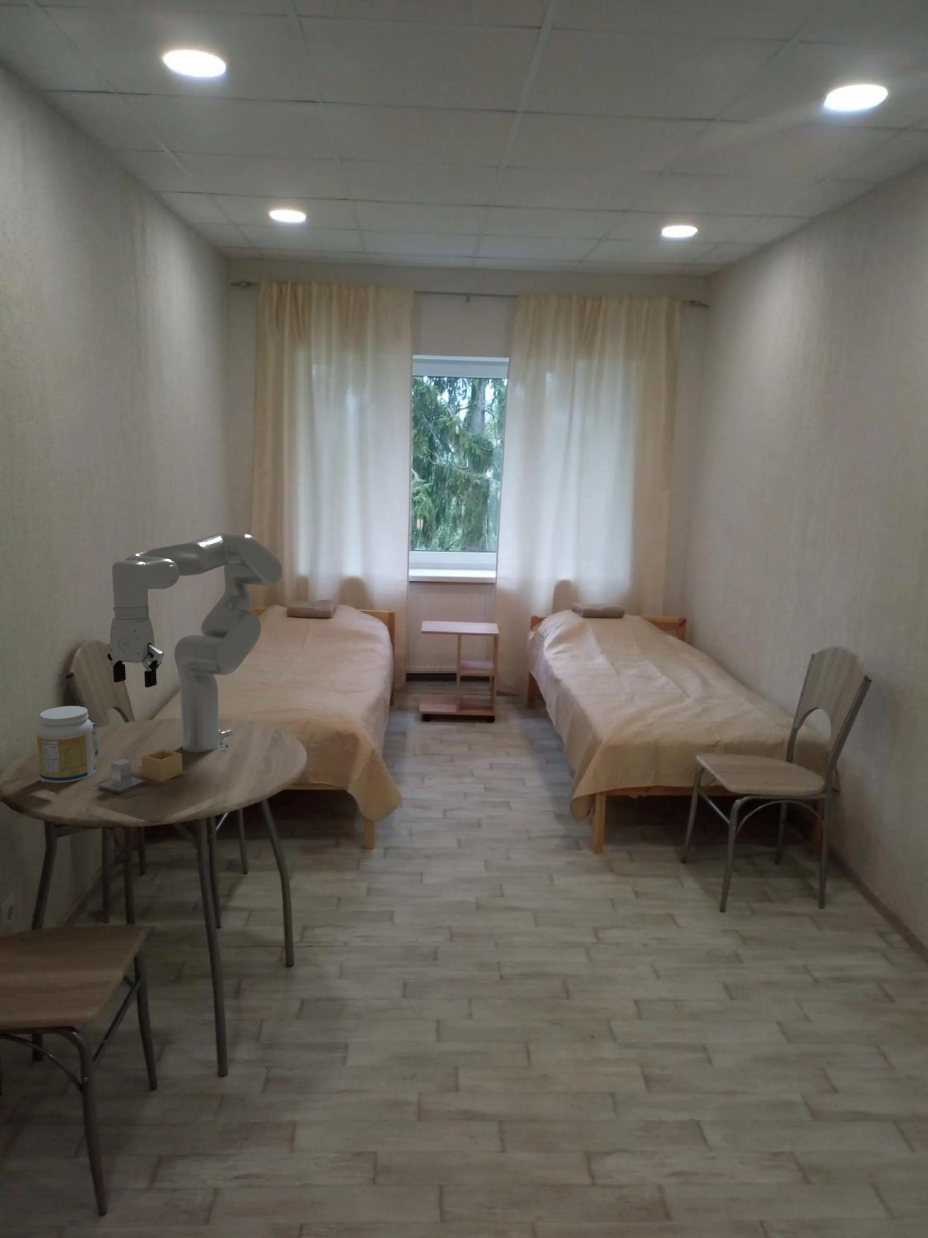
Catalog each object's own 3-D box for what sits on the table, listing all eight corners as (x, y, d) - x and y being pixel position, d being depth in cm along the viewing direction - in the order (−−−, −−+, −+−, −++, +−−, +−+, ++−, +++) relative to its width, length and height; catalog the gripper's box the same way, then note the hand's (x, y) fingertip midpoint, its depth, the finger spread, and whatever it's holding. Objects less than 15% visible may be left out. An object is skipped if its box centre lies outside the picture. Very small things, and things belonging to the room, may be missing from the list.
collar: (163, 768, 204) (163, 749, 203) (182, 773, 201) (181, 753, 200) (142, 776, 198) (141, 756, 197) (161, 781, 195) (160, 761, 194)
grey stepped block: (124, 778, 196) (123, 754, 195) (145, 784, 193) (144, 760, 192) (98, 788, 190) (97, 763, 189) (120, 794, 187) (118, 769, 186)
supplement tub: (58, 769, 206) (53, 703, 203) (105, 771, 205) (101, 705, 202) (29, 787, 194) (24, 718, 191) (80, 789, 193) (75, 720, 190)
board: (153, 767, 208) (153, 761, 208) (193, 778, 202) (193, 772, 201) (84, 793, 191) (83, 787, 191) (125, 806, 184) (125, 800, 184)
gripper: (91, 612, 194) (95, 683, 197) (148, 619, 187) (151, 692, 190) (116, 607, 200) (120, 676, 203) (171, 614, 194) (174, 684, 197)
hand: (135, 683), depth 197 cm, fingers open, 9 cm apart
